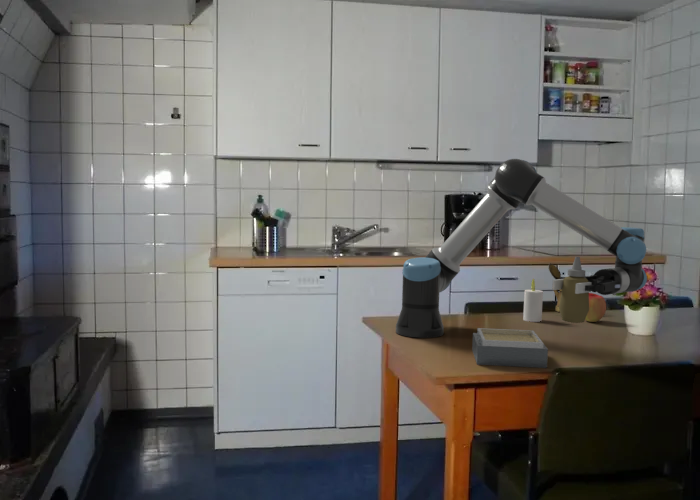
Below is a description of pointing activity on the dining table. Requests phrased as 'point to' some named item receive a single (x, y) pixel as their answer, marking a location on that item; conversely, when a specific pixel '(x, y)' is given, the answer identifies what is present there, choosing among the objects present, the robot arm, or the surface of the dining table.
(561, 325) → the dining table surface
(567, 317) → the squeeze bottle
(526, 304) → the candle
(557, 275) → the wooden mug
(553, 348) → the dining table surface
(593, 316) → the apple
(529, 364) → the square box
